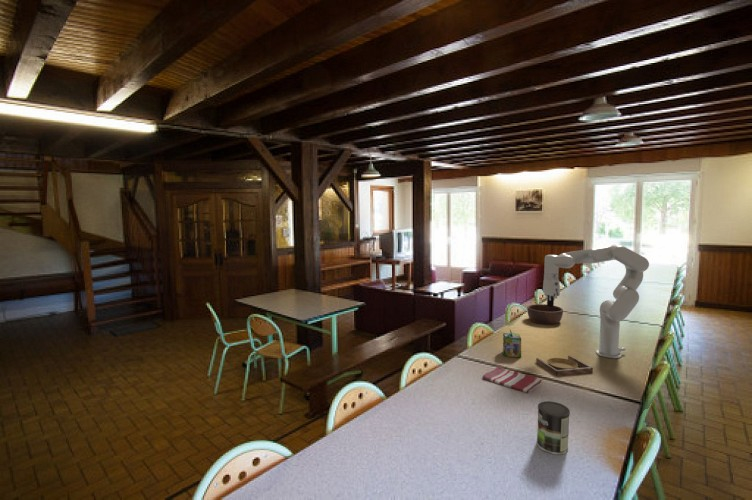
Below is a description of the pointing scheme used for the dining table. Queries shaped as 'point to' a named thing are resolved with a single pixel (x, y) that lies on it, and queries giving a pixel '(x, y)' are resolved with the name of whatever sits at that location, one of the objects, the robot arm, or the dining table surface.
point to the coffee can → (553, 427)
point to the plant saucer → (561, 363)
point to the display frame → (584, 369)
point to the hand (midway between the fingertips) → (550, 306)
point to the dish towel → (513, 379)
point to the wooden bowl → (544, 314)
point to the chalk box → (511, 345)
